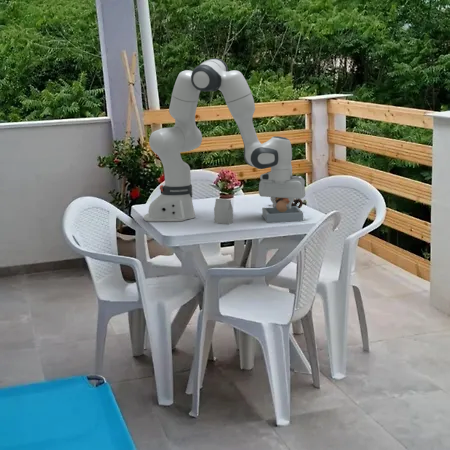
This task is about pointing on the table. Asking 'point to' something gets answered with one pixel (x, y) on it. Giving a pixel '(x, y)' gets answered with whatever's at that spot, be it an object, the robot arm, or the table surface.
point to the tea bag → (223, 211)
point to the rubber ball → (281, 206)
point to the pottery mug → (292, 203)
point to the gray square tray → (282, 215)
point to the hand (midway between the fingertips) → (282, 208)
